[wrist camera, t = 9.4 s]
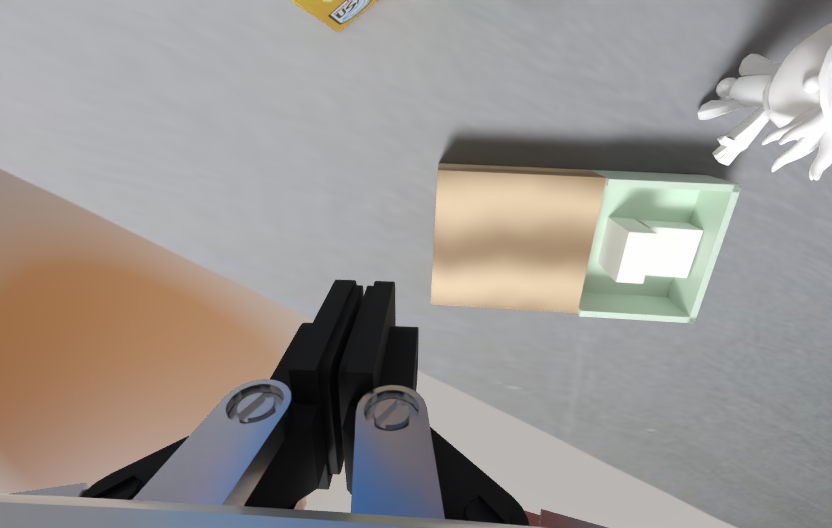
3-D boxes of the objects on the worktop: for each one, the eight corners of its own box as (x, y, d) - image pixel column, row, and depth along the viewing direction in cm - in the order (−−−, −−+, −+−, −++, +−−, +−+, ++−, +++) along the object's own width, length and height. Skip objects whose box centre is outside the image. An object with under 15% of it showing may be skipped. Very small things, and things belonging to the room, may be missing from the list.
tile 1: (629, 232, 29) (657, 233, 29) (607, 217, 33) (633, 218, 32) (616, 282, 30) (643, 283, 30) (597, 262, 34) (621, 263, 34)
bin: (589, 169, 32) (608, 179, 28) (706, 174, 31) (742, 185, 28) (565, 293, 36) (579, 316, 32) (668, 299, 36) (694, 323, 32)
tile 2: (703, 230, 31) (688, 223, 32) (649, 226, 31) (638, 219, 33) (686, 278, 32) (673, 268, 34) (636, 274, 32) (625, 264, 34)
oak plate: (438, 163, 32) (437, 170, 29) (589, 169, 32) (606, 177, 29) (431, 286, 37) (430, 304, 33) (565, 293, 36) (577, 313, 33)
